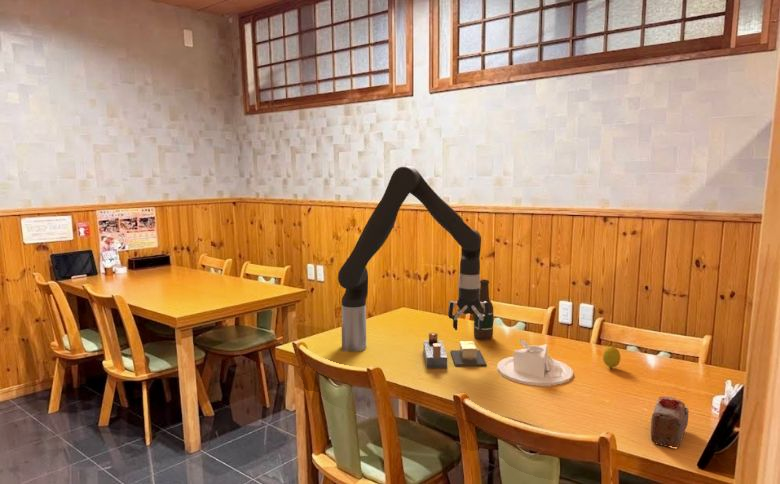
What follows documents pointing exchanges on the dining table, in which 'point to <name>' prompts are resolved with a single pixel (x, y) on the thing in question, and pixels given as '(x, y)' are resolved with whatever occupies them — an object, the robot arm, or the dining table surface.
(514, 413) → the dining table surface
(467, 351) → the cream block
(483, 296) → the beer bottle
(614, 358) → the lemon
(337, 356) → the dining table surface
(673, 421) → the food item
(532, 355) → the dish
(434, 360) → the hand plane
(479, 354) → the rubber mat
